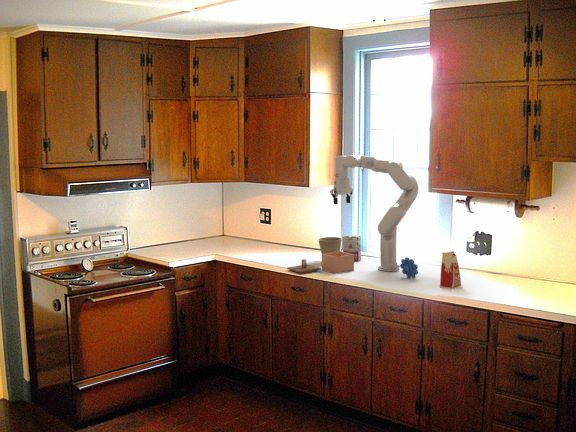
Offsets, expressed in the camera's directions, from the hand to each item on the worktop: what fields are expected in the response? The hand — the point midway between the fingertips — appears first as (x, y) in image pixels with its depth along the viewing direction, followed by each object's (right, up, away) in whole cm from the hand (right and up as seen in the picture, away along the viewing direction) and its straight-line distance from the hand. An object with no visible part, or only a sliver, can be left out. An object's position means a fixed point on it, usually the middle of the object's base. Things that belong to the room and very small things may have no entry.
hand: (342, 203), depth 402 cm
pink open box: (-3, -41, -2) cm, 41 cm away
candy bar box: (+9, -37, +27) cm, 46 cm away
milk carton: (+54, -46, -51) cm, 87 cm away
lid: (-23, -42, -1) cm, 48 cm away
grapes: (+36, -44, -28) cm, 63 cm away
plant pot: (-6, -38, +20) cm, 44 cm away
